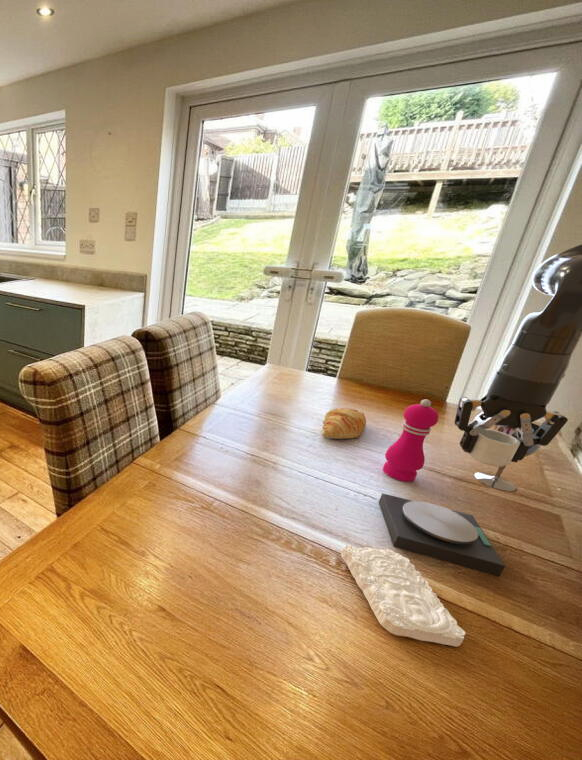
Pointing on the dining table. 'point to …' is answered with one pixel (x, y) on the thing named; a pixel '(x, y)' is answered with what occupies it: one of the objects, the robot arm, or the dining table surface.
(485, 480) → the wine glass
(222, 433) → the dining table surface
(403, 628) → the carved plaster tablet
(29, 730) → the dining table surface
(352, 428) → the croissant
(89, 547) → the dining table surface
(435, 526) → the scale pan
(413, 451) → the pepper mill
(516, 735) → the dining table surface
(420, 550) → the scale
